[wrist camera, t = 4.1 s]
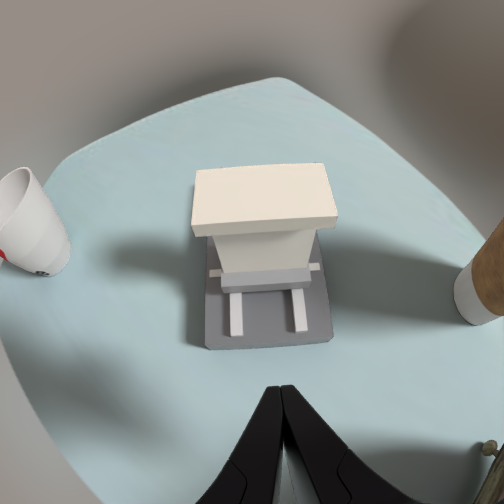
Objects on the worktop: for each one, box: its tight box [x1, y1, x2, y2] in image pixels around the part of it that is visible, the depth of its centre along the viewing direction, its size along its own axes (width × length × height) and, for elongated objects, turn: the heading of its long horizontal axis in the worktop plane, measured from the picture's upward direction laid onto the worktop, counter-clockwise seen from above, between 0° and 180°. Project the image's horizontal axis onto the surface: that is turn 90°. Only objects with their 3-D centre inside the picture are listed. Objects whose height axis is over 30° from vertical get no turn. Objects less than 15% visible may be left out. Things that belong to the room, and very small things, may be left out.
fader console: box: [205, 230, 334, 350], centre depth 23 cm, size 16×9×3 cm, turn 3°
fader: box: [191, 163, 338, 293], centre depth 17 cm, size 4×7×8 cm, turn 93°
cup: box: [0, 167, 71, 277], centre depth 21 cm, size 8×8×10 cm
